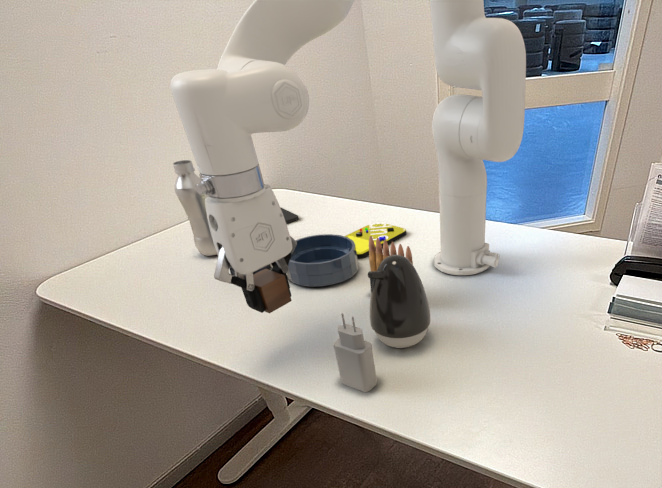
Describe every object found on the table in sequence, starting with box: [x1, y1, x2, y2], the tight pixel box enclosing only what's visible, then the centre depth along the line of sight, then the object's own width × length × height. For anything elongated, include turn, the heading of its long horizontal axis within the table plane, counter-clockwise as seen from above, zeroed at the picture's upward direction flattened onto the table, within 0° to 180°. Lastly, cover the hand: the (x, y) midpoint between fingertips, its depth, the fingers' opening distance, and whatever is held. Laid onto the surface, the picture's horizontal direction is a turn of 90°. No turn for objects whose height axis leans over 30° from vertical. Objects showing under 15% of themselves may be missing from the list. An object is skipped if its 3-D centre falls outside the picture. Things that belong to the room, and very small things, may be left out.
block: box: [253, 269, 292, 314], centre depth 75 cm, size 4×4×4 cm
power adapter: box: [333, 313, 378, 393], centre depth 71 cm, size 3×5×12 cm, turn 60°
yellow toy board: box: [344, 222, 407, 260], centre depth 116 cm, size 18×11×2 cm, turn 146°
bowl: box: [286, 233, 360, 288], centre depth 102 cm, size 15×15×6 cm
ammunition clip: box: [368, 236, 414, 292], centre depth 90 cm, size 11×2×12 cm, turn 54°
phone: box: [280, 206, 299, 224], centre depth 131 cm, size 7×1×15 cm
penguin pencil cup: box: [367, 254, 432, 349], centre depth 78 cm, size 10×10×15 cm
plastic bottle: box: [172, 159, 218, 257], centre depth 107 cm, size 6×7×20 cm
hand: (270, 301), depth 76 cm, fingers closed on block, 4 cm apart
